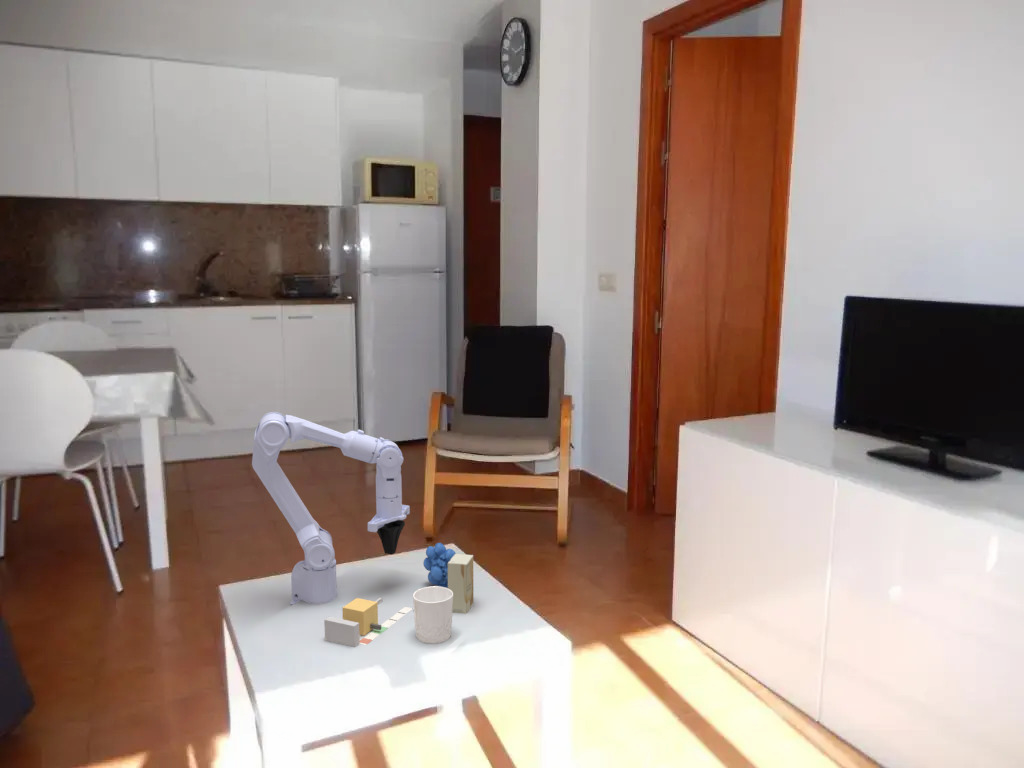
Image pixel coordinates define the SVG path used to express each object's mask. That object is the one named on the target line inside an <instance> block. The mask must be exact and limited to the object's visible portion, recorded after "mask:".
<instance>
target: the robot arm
mask: <svg viewBox="0 0 1024 768" xmlns="http://www.w3.org/2000/svg"><path fill="white" fill-rule="evenodd" d="M254 431H255V432H254V436H253V437H254V438H253V448H252V457H251V459H252V460H251V466H252V469H253V470H254V472H255V473H256V475H257V477H258V478H259V480H260V481H261V483H262V484H263V486H264V487H265V488H266V490H267V492H268V494H270V497H271V498H272V500H273V501H274V503H275V504H276V506H277V507H278V509H279V510H280V512H281V514H282V515H283V516H284V518H285V519H286V521H287V523H288V524H289V526H290V527H291V529H292V530H293V532H294V533H295V536H296V539H297V540H298V542H299V545H300V546H301V547H300V548H302V550H303V552H304V553H303V554H304V559H303V560H299V561H298V562H297V563H296V564H295V565H293V566H294V567H293V568H292V571H291V577H290V579H291V601H290V602H289V605H290V606H293V605H295V604H297V602H300V601H303V602H306V603H309V604H315V605H317V604H326V603H329V602H332V601H334V600H336V598H337V597H338V589H337V588H338V584H337V583H338V581H337V560H336V558H335V557H336V556H335V555H336V554H335V553H336V552H335V548H334V546H333V538H332V535H331V533H330V532H329V531H327V530H326V529H323V528H322V527H321V526H320V525H319V523H318V522H317V521H316V520H315V518H313V515H311V513H310V511H309V509H308V508H307V506H306V505H305V504H304V502H303V501H302V499H301V497H300V495H299V494H298V492H297V491H296V489H295V488H294V487H293V485H292V483H291V482H290V480H289V478H288V477H287V476H286V473H285V472H284V471H283V469H282V467H281V466H280V464H279V463H278V461H277V460H278V459H279V455H280V451H281V450H282V449H283V448H284V446H285V445H286V443H287V442H288V441H289V438H290V444H292V443H296V442H298V441H301V440H304V439H306V440H310V441H313V442H316V443H321V444H323V445H327V446H332V447H334V448H335V447H336V448H339V449H340V450H341V453H342V454H343V456H344V457H345V456H346V457H348V458H352V459H355V460H357V461H362V462H364V463H368V464H370V465H371V464H376V466H375V467H376V468H375V469H376V470H375V471H376V474H375V503H376V505H375V509H376V513H375V515H374V516H373V517H372V519H371V520H370V521H368V522H367V532H371V533H377V535H378V536H379V539H380V541H381V544H382V545H381V546H382V548H383V551H384V554H387V555H394V554H395V553H396V552H397V548H398V543H399V539H400V535H401V533H402V530H403V529H404V527H405V526H406V525H405V522H406V521H404V520H405V519H407V516H408V515H410V511H411V509H410V505H408V504H407V505H406V504H403V503H402V502H403V490H402V479H403V478H402V473H401V471H402V467H401V466H402V464H403V463H404V456H403V452H402V450H401V449H400V448H399V446H398V444H397V443H395V442H393V441H392V440H391V439H389V438H388V439H385V438H384V437H381V436H380V437H379V438H377V437H374V436H371V435H368V434H365V432H364V430H362V429H357V431H356V430H350V431H348V432H345V433H342V432H340V431H338V430H334V429H332V428H329V427H326V426H324V425H320V424H319V423H318V424H317V423H315V422H313V421H311V420H307V419H304V418H300V417H297V416H294V415H290V414H285V415H284V414H283V413H281V412H278V411H271V412H267V413H265V414H263V415H262V417H261V418H260V419H259V421H258V425H257V426H256V428H255V430H254Z"/></svg>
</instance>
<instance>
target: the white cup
mask: <svg viewBox="0 0 1024 768" xmlns="http://www.w3.org/2000/svg"><path fill="white" fill-rule="evenodd" d="M412 599H413V602H412V603H413V614H414V615H413V616H414V617H413V618H414V628H415V637H416V639H417V640H418V641H419V642H422V643H425V644H439V643H443V642H446V641H447V640H448V639H450V637H451V630H452V625H453V624H452V623H453V613H452V608H453V592H452V591H451V590H450V589H448V588H445V587H439V586H437V585H434V586H433V585H432V586H425V587H422V588H419V589H416V591H414V592H413V594H412Z"/></svg>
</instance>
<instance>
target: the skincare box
mask: <svg viewBox="0 0 1024 768" xmlns="http://www.w3.org/2000/svg"><path fill="white" fill-rule="evenodd" d="M448 589H450V590H451V591H452V592H453V608H452V614H453V613H454V614H462V615H463V614H465V615H467V614H468V613H469V611H470V609H471V607H472V606H473V604H474V603H475V602H474V554H461V553H456V554H455V555H454V556H453V557H452V558H451V560H450V561H449V562H448Z"/></svg>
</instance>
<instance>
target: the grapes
mask: <svg viewBox="0 0 1024 768" xmlns="http://www.w3.org/2000/svg"><path fill="white" fill-rule="evenodd" d="M425 554H426V557H425V558H424V560H423V567H424V569H425V570H426V571H428V574H427V580H428V582H429V583H430V584H432V585H434V586H439V587H445V588H448V562H449V561H450V560H451V558H452V557H453V556H454V555H455V554H457V553H456V551H455V550H453V549H451V548H446V545H444V544H443V543H441V542H437V543H435V545H434V546H428V547H426V549H425Z"/></svg>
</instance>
